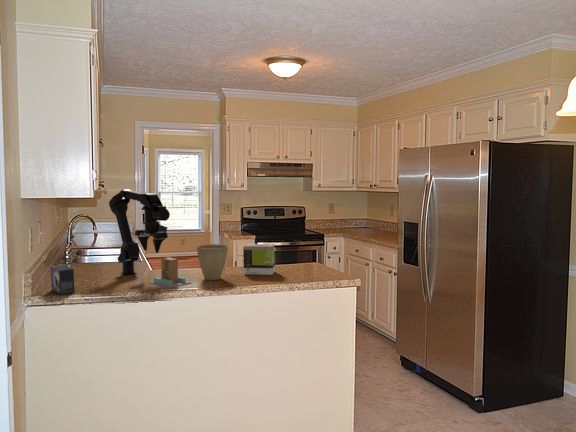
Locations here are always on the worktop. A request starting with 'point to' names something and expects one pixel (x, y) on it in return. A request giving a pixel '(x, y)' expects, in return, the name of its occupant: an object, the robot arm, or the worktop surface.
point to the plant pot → (212, 260)
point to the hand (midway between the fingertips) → (151, 251)
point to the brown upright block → (169, 269)
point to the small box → (62, 279)
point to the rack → (169, 282)
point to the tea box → (259, 259)
